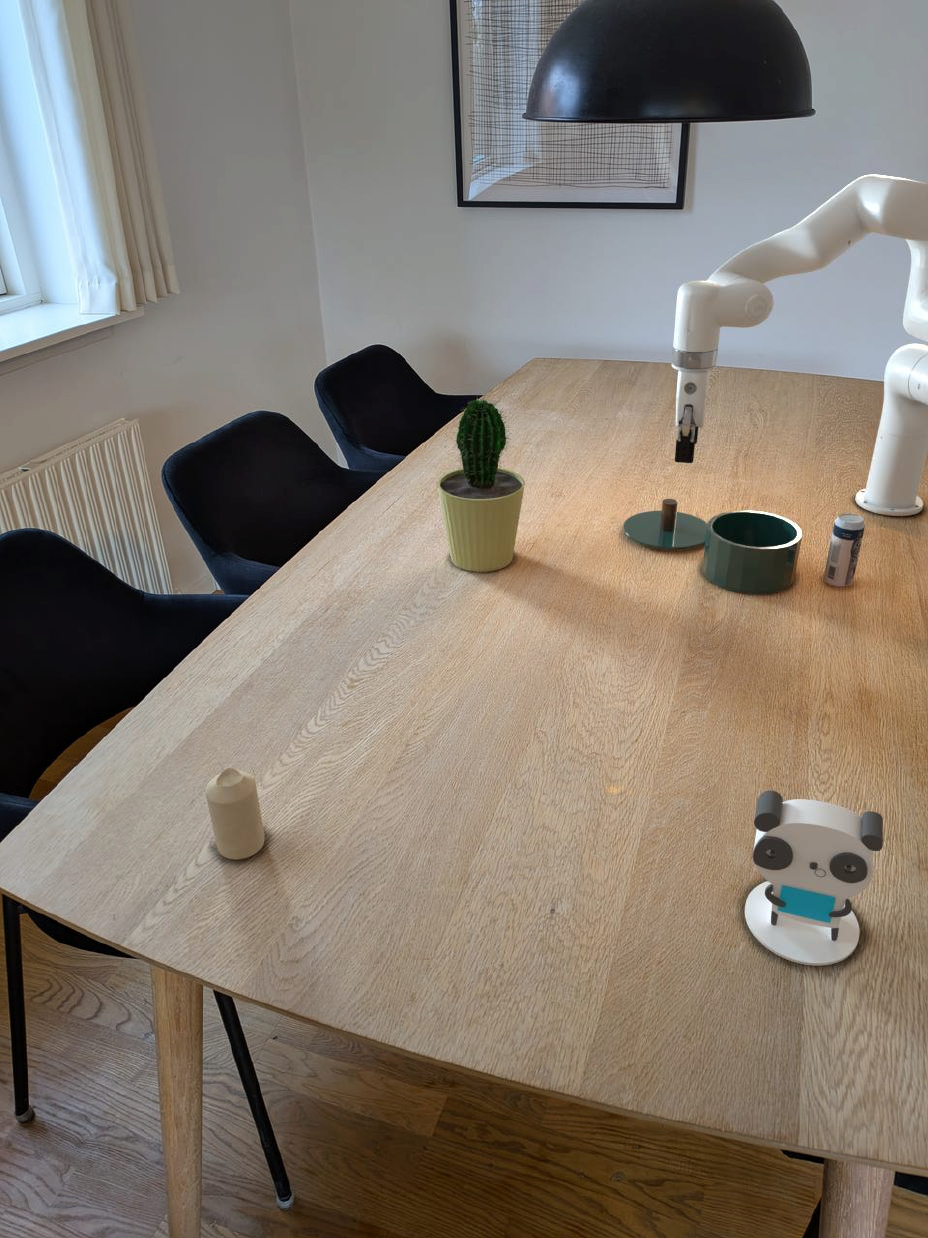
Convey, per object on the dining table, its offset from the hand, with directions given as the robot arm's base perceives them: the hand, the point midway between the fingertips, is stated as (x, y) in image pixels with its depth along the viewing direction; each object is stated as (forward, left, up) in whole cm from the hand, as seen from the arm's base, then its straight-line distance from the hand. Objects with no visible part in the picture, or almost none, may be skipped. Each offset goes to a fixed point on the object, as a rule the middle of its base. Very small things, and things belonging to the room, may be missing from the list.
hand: (685, 452), depth 170 cm
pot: (+13, +13, -17) cm, 25 cm away
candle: (+96, -43, -17) cm, 106 cm away
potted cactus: (+18, -34, -17) cm, 42 cm away
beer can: (+13, +28, -17) cm, 35 cm away
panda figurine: (+92, +19, -17) cm, 95 cm away
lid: (0, -2, -16) cm, 16 cm away
